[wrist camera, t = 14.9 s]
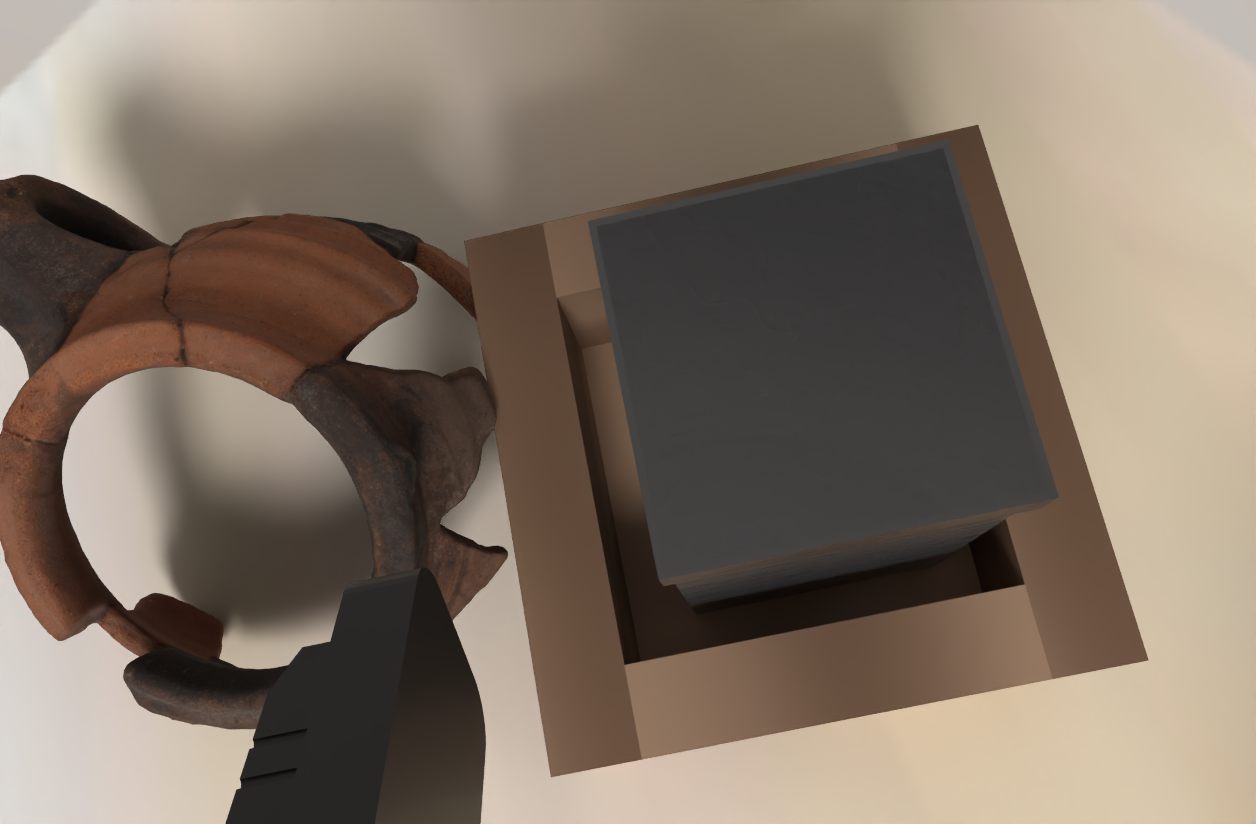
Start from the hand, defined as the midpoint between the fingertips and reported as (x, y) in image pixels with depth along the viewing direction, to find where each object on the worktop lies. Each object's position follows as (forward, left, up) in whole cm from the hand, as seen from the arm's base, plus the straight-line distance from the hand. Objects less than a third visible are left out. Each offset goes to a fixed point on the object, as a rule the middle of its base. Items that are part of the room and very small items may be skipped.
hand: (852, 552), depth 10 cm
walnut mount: (0, +3, -11) cm, 12 cm away
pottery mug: (-9, +6, -12) cm, 16 cm away
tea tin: (0, +3, -10) cm, 11 cm away
